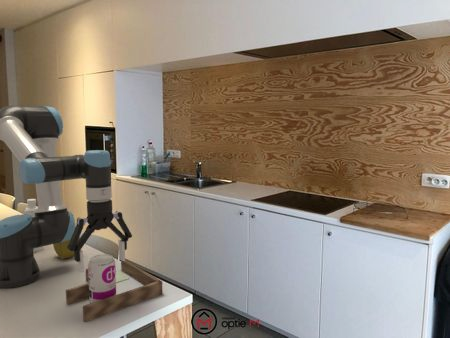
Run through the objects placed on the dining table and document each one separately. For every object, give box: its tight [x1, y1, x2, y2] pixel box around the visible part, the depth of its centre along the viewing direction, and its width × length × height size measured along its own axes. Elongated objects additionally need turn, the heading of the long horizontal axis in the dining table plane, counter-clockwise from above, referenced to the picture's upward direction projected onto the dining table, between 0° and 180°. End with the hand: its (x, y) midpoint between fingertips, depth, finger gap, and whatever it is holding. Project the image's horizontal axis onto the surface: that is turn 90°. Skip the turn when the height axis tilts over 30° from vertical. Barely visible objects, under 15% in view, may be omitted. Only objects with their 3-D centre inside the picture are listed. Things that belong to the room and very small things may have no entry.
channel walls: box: [65, 259, 163, 323], centre depth 126 cm, size 27×28×4 cm
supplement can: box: [87, 253, 117, 304], centre depth 118 cm, size 8×8×15 cm
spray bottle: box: [23, 198, 44, 253], centre depth 165 cm, size 7×7×25 cm
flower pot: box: [52, 236, 81, 260], centre depth 159 cm, size 9×9×9 cm
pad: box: [116, 270, 130, 284], centre depth 137 cm, size 10×9×1 cm
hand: (102, 265), depth 117 cm, fingers open, 13 cm apart
